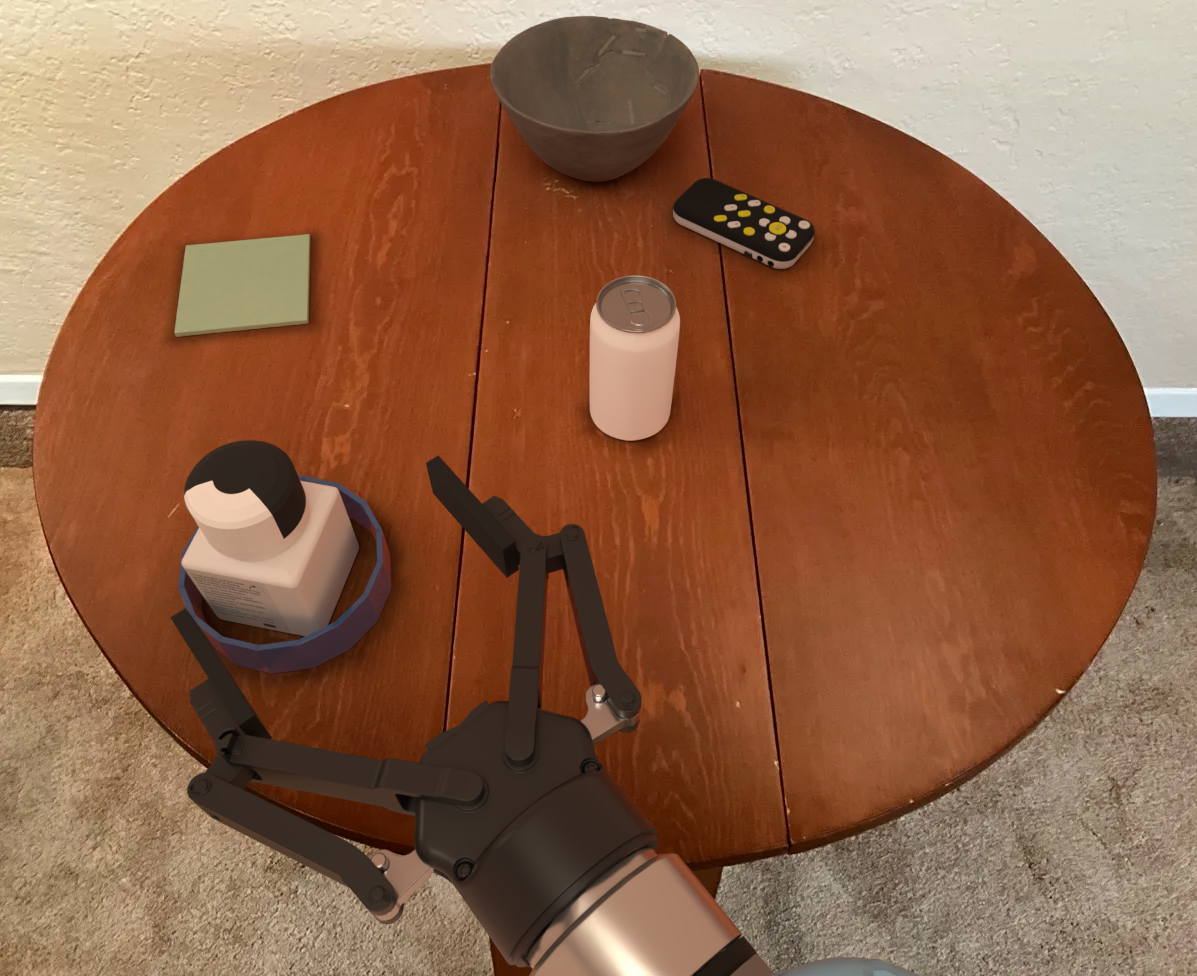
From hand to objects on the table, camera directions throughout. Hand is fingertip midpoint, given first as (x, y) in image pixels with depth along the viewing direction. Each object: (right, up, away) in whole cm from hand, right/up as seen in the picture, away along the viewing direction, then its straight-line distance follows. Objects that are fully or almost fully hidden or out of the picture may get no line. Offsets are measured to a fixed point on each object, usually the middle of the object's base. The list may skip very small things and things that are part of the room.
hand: (318, 545), depth 47 cm
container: (-8, -4, +21) cm, 23 cm away
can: (+16, +9, +31) cm, 36 cm away
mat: (-17, +21, +38) cm, 47 cm away
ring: (-8, -4, +21) cm, 23 cm away
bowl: (+13, +35, +49) cm, 61 cm away
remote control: (+27, +27, +43) cm, 57 cm away
